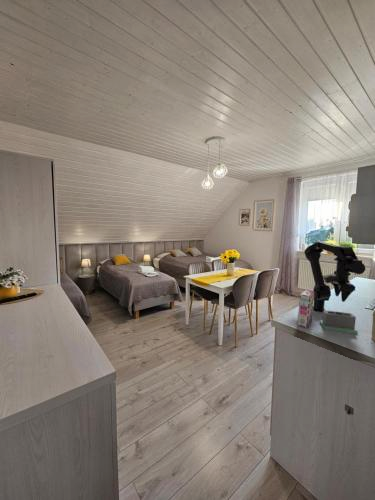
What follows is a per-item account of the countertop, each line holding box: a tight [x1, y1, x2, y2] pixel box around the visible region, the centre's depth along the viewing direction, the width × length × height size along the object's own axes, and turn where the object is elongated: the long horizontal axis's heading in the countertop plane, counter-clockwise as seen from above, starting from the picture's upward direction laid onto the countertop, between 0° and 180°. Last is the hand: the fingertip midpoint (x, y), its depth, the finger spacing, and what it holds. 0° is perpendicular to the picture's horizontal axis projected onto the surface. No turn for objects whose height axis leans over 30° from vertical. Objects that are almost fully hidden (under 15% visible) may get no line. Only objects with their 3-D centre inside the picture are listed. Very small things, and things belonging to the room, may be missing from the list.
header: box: [319, 319, 359, 335], centre depth 110 cm, size 8×14×5 cm, turn 73°
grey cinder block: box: [322, 309, 357, 329], centre depth 110 cm, size 5×12×6 cm, turn 73°
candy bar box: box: [296, 289, 314, 329], centre depth 115 cm, size 11×5×16 cm, turn 141°
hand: (339, 298), depth 119 cm, fingers open, 9 cm apart
